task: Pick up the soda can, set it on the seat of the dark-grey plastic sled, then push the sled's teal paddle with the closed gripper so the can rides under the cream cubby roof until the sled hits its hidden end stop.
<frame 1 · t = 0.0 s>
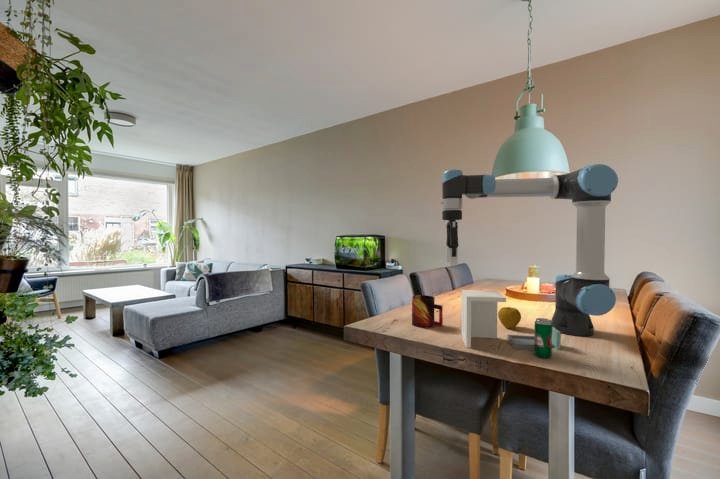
hand: (451, 263, 130), 28 cm above the table, fingers open, 13 cm apart
soda can: (542, 356, 107), on the table
sled: (533, 336, 117), point 3 cm above the table, slide at 0.0 cm
apple: (509, 328, 139), on the table
cubby: (482, 342, 120), on the table
mug: (427, 325, 143), on the table
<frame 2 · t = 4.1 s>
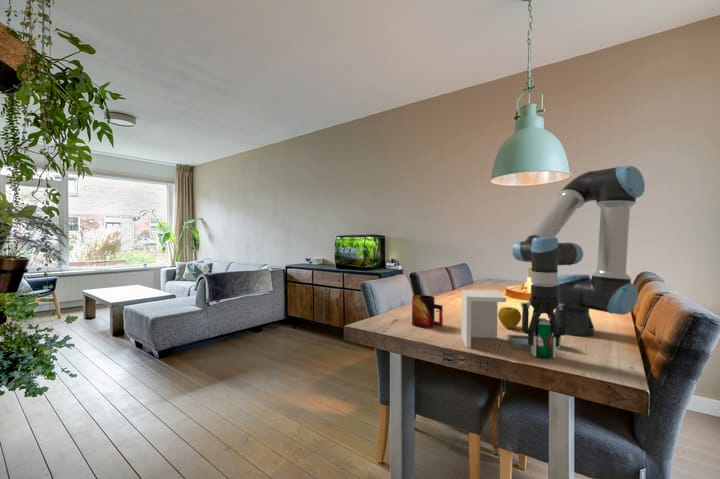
hand: (543, 355, 107), 0 cm above the table, fingers closed on soda can, 5 cm apart
soda can: (542, 356, 107), on the table, touching gripper
everything else where it was.
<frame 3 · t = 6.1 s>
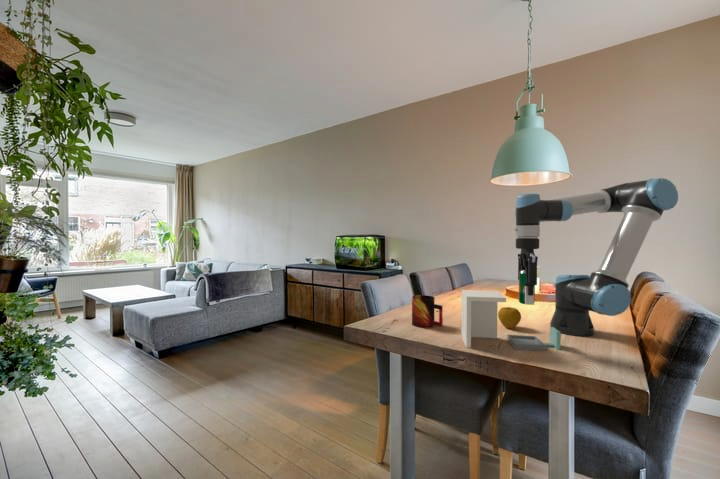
hand: (526, 302, 117), 15 cm above the table, fingers closed on soda can, 5 cm apart
soda can: (526, 303, 117), point 15 cm above the table, touching gripper
everything else where it was.
when the fingers open (3 cm above the table, at t = 8.1 s): soda can drops 2 cm, resting on sled.
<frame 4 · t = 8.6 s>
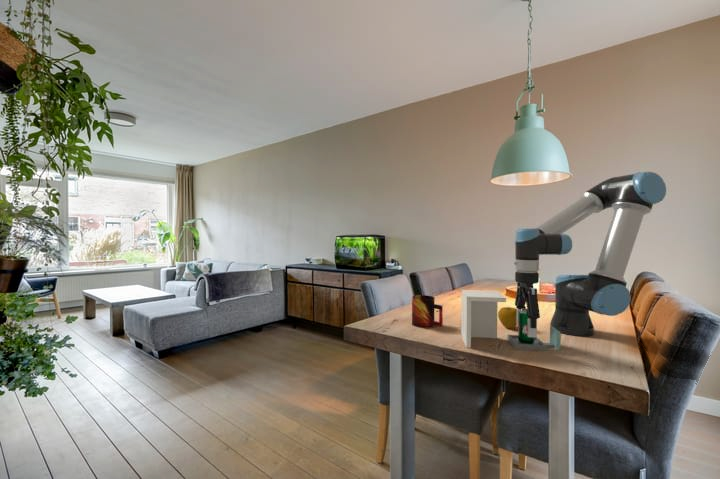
hand: (526, 331, 118), 5 cm above the table, fingers open, 12 cm apart
soda can: (526, 343, 118), point 1 cm above the table, touching sled
sled: (533, 336, 117), point 3 cm above the table, slide at 0.0 cm, touching soda can
everything else where it was.
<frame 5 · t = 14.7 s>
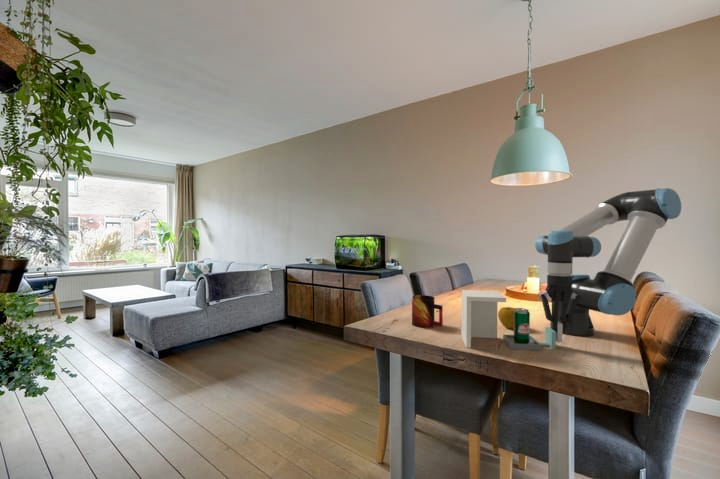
hand: (558, 341, 116), 2 cm above the table, fingers closed
soda can: (521, 343, 118), point 1 cm above the table, touching sled
sled: (529, 336, 118), point 3 cm above the table, slide at 1.6 cm, touching gripper, soda can
everything else where it was.
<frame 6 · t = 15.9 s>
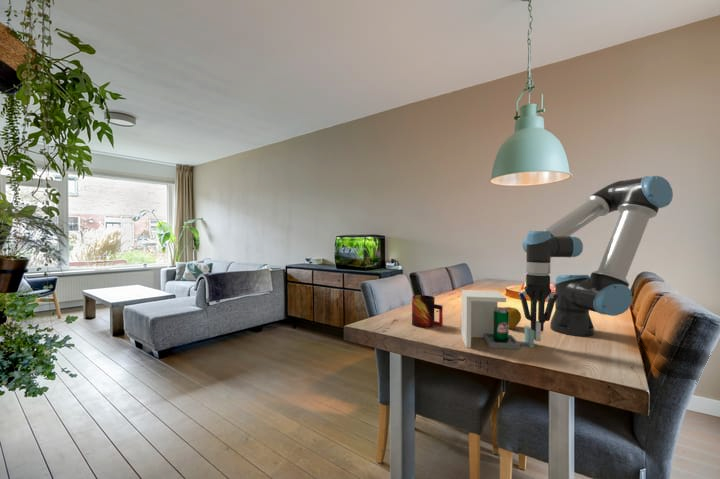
hand: (536, 339, 117), 2 cm above the table, fingers closed
soda can: (500, 341, 119), point 1 cm above the table, touching sled
sled: (508, 335, 119), point 3 cm above the table, slide at 8.6 cm, touching gripper, soda can
everything else where it was.
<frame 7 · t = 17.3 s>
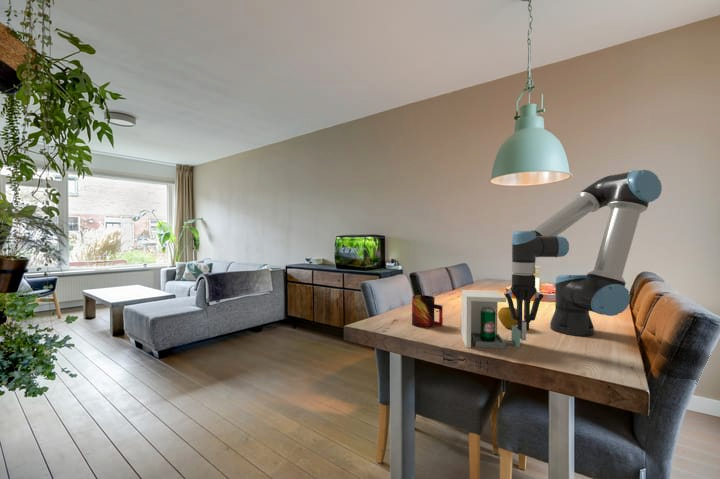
hand: (522, 339, 118), 2 cm above the table, fingers closed
soda can: (487, 341, 120), point 1 cm above the table, touching sled
sled: (495, 334, 120), point 3 cm above the table, slide at 13.1 cm, touching gripper, soda can
everything else where it was.
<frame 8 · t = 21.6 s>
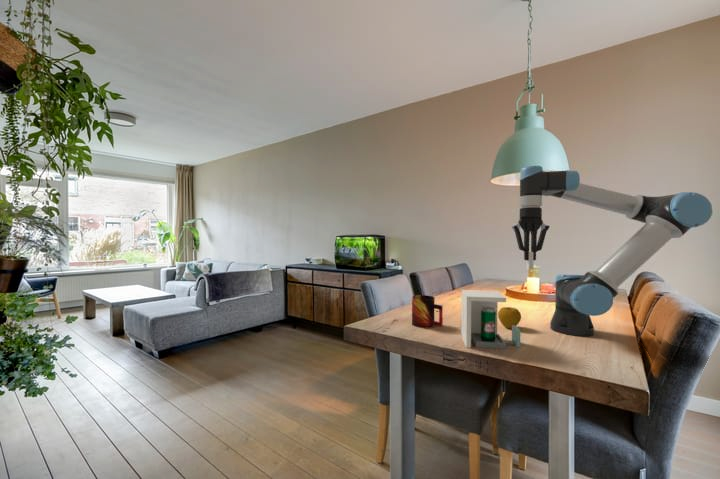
hand: (529, 268, 126), 26 cm above the table, fingers closed
sled: (495, 335, 120), point 3 cm above the table, slide at 13.0 cm, touching soda can
everything else where it was.
at the end: sled slide at 13.0 cm; soda can inside the target area (0.1 cm from its centre), point 0.6 cm above the table; soda can tilted 0° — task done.
